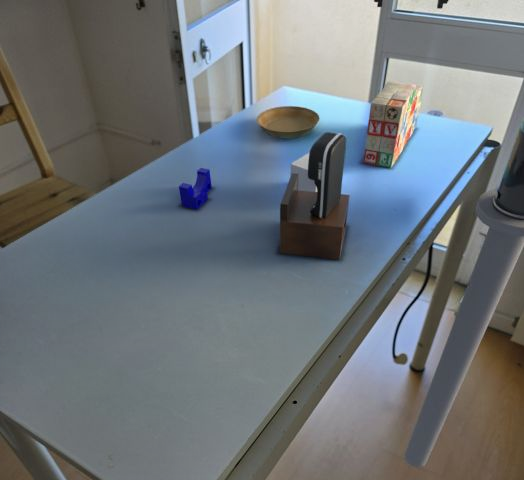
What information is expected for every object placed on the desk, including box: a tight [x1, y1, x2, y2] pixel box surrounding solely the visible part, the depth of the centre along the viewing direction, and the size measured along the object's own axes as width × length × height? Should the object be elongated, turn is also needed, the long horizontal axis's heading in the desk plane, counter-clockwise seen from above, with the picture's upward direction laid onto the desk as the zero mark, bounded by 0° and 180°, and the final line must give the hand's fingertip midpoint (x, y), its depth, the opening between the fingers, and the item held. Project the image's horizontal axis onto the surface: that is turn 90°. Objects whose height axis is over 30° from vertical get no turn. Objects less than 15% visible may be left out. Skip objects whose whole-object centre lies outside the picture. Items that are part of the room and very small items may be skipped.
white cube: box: [289, 151, 317, 192], centre depth 91 cm, size 6×6×6 cm
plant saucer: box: [256, 105, 321, 139], centre depth 112 cm, size 15×15×3 cm
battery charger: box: [308, 131, 347, 218], centre depth 73 cm, size 7×4×11 cm, turn 153°
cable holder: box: [178, 167, 213, 211], centre depth 91 cm, size 8×4×4 cm, turn 154°
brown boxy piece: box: [279, 173, 350, 260], centre depth 79 cm, size 10×10×9 cm
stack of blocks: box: [362, 81, 424, 169], centre depth 101 cm, size 21×6×12 cm, turn 154°
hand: (409, 6), depth 69 cm, fingers open, 8 cm apart
